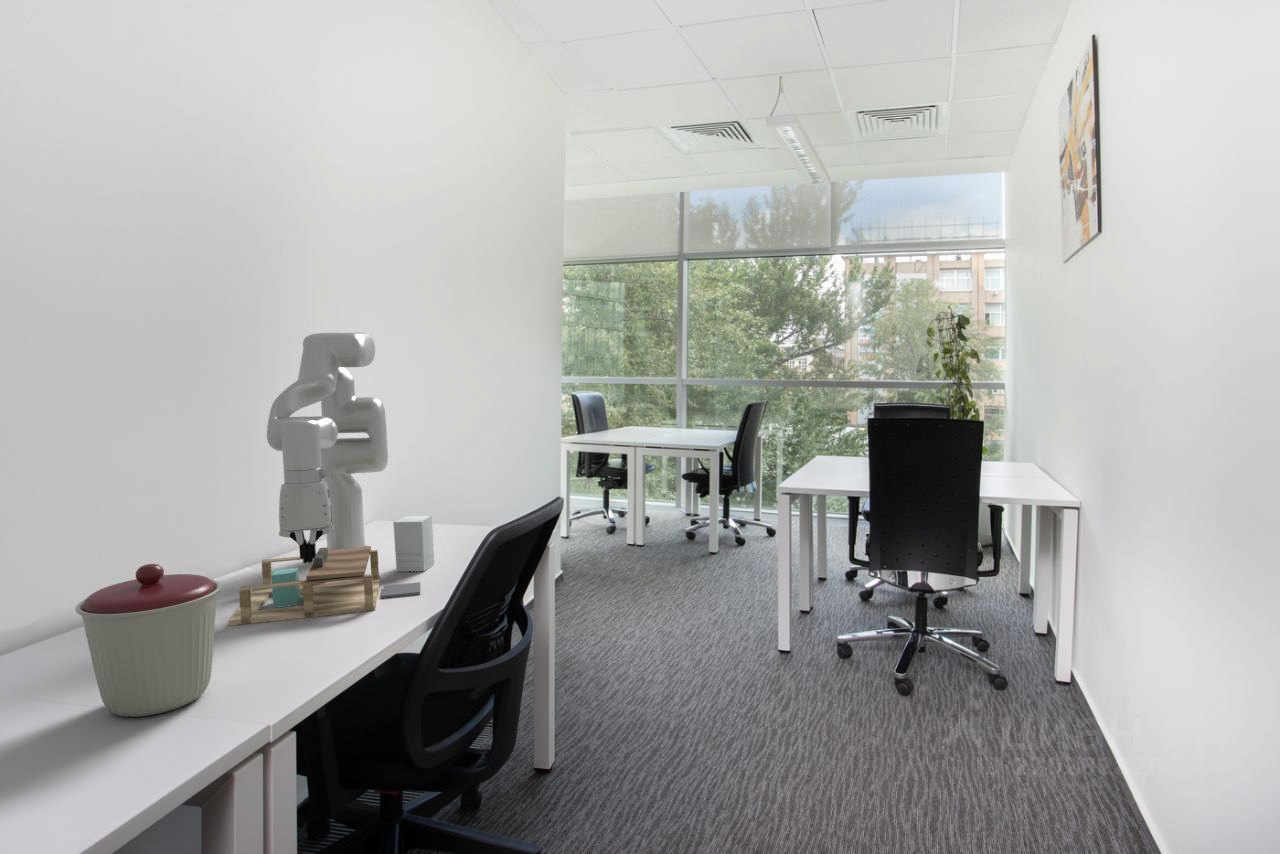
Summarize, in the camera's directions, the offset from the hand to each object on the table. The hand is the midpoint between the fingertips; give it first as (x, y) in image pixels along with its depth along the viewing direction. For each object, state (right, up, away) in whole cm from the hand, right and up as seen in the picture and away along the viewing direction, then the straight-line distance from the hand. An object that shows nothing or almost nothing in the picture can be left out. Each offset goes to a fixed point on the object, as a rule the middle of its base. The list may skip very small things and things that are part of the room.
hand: (308, 561), depth 161 cm
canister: (-1, -13, -49) cm, 50 cm away
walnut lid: (+6, -1, +2) cm, 7 cm away
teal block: (-4, -9, -1) cm, 10 cm away
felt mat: (+18, -8, +6) cm, 21 cm away
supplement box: (+15, -7, +26) cm, 31 cm away
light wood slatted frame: (+1, -9, +1) cm, 9 cm away
